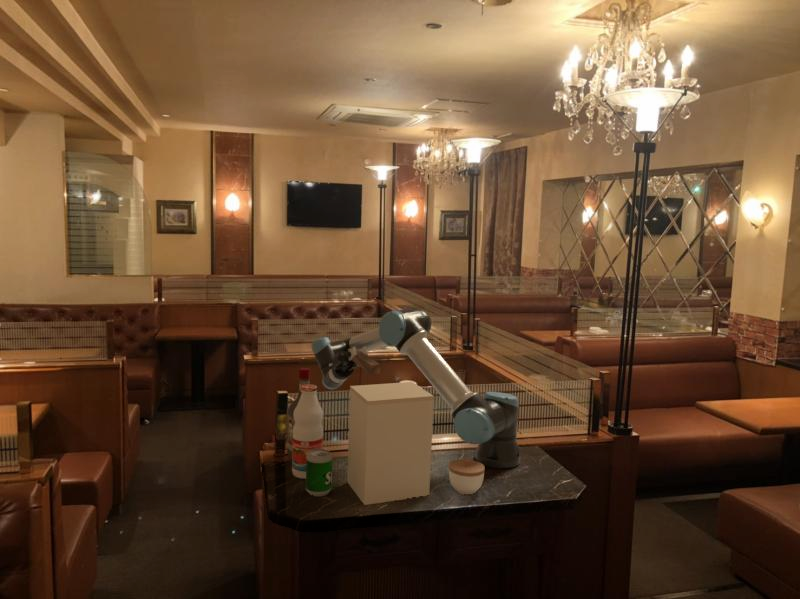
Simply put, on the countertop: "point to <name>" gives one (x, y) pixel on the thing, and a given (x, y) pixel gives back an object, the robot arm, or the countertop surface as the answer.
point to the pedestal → (389, 441)
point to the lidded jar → (466, 475)
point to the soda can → (319, 472)
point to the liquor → (303, 380)
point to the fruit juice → (306, 429)
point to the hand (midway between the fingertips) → (360, 350)
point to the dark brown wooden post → (366, 362)
